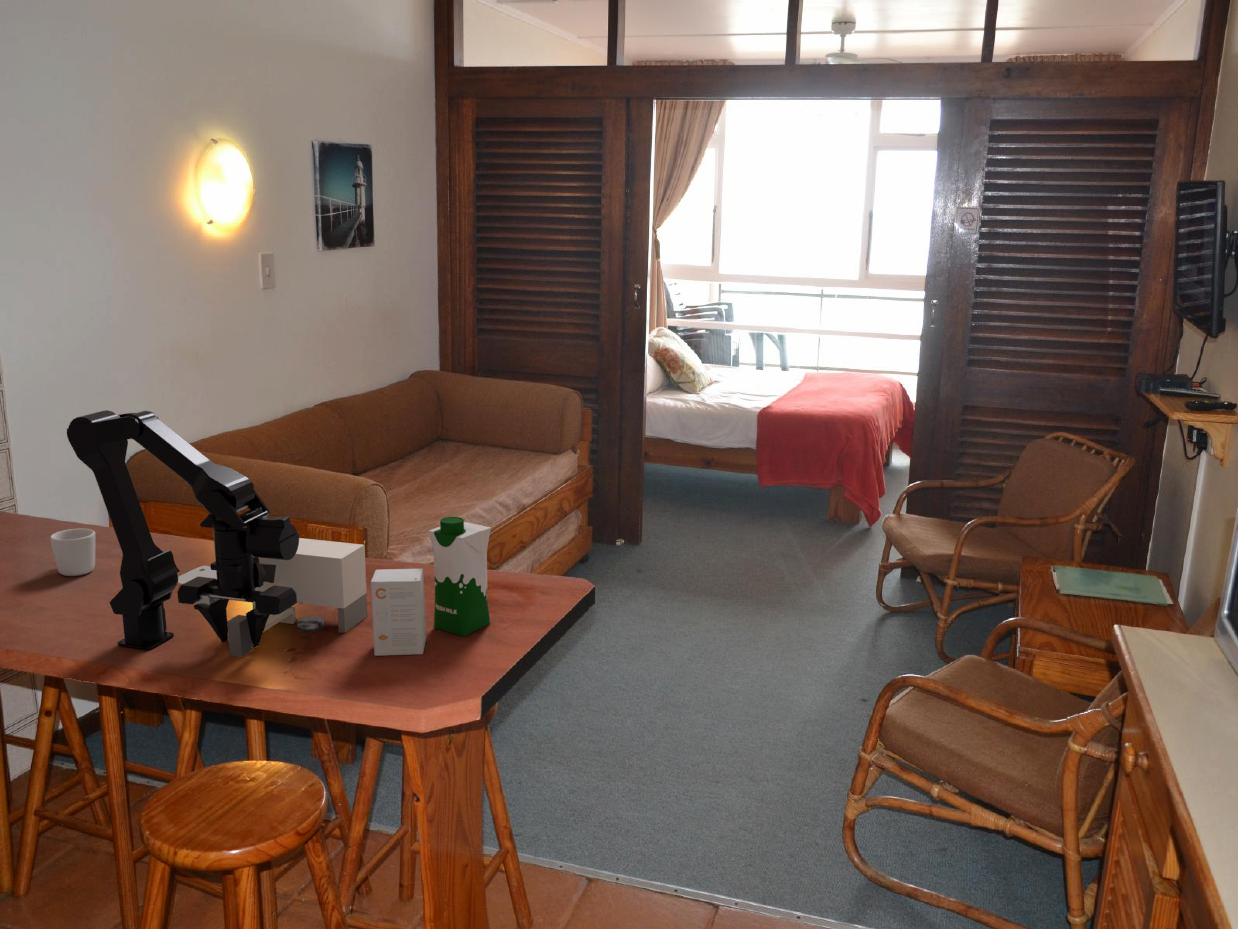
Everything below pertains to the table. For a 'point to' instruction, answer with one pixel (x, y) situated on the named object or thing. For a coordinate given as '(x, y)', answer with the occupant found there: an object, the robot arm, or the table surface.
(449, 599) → the milk carton
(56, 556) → the cup
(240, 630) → the grey mallet
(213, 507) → the robot arm
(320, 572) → the cabinet
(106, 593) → the table surface
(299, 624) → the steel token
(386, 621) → the small box
